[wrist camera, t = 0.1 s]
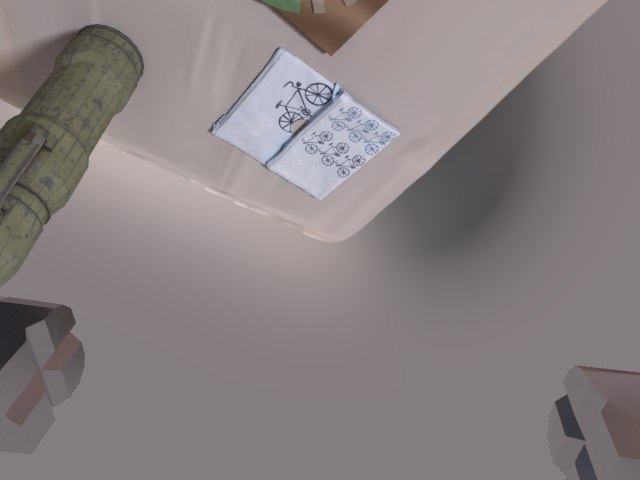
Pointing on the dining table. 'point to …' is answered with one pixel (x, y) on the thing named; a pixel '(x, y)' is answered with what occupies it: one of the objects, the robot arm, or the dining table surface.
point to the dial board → (328, 18)
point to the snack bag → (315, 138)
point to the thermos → (60, 135)
